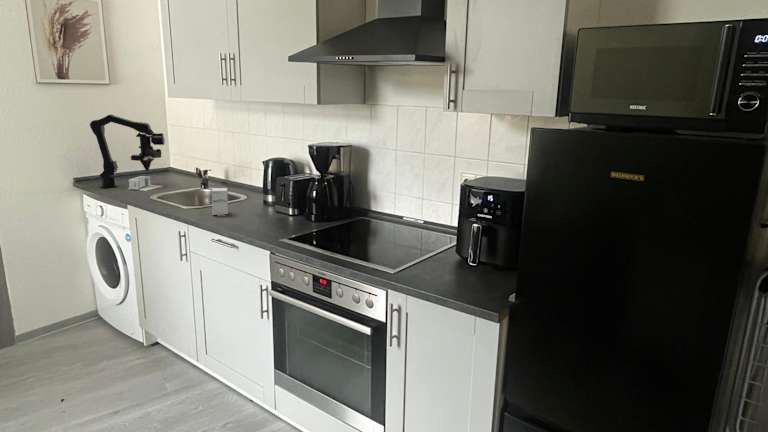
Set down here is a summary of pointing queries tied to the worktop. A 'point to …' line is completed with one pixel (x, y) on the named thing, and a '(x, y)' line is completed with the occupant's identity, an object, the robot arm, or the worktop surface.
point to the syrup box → (139, 182)
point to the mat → (148, 187)
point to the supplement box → (219, 201)
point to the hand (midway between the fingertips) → (147, 170)
